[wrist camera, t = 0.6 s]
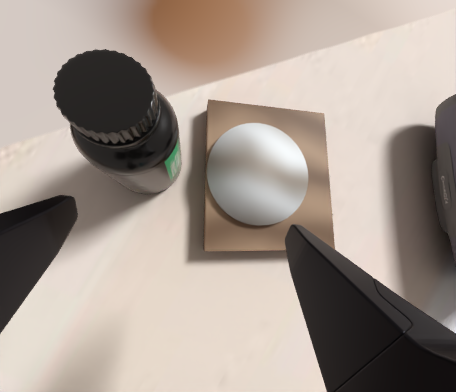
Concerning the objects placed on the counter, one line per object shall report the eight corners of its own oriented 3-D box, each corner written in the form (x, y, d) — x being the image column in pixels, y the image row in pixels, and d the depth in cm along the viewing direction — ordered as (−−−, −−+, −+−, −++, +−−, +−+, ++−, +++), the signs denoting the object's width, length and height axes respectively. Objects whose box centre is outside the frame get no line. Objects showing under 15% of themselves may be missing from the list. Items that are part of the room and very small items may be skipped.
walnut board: (323, 248, 24) (338, 250, 22) (203, 249, 22) (205, 251, 19) (314, 121, 27) (327, 110, 24) (206, 109, 24) (208, 96, 22)
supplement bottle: (193, 174, 23) (199, 115, 11) (137, 207, 21) (74, 179, 10) (160, 123, 23) (132, 14, 11) (101, 152, 21) (-2, 59, 10)
